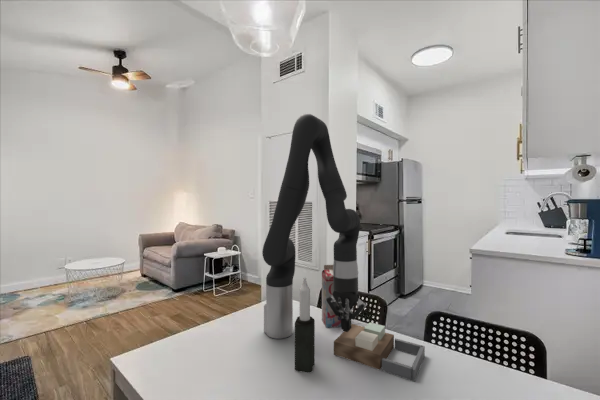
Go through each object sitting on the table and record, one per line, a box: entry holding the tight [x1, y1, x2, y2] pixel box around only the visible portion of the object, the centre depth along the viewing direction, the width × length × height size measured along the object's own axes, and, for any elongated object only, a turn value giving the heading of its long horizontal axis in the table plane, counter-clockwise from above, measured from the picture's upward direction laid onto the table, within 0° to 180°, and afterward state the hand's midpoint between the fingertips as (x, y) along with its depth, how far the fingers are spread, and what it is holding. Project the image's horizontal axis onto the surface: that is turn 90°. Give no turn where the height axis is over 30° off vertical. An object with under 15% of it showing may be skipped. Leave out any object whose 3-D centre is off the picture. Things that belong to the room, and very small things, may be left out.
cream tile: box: [356, 331, 378, 351], centre depth 83 cm, size 5×5×2 cm
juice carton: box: [321, 264, 341, 329], centre depth 107 cm, size 7×7×22 cm
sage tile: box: [364, 322, 386, 340], centre depth 89 cm, size 5×5×2 cm
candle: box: [294, 276, 316, 374], centre depth 79 cm, size 5×5×25 cm
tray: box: [381, 337, 426, 382], centre depth 81 cm, size 8×14×3 cm, turn 147°
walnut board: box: [333, 323, 395, 371], centre depth 88 cm, size 14×14×4 cm
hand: (346, 330), depth 87 cm, fingers closed
